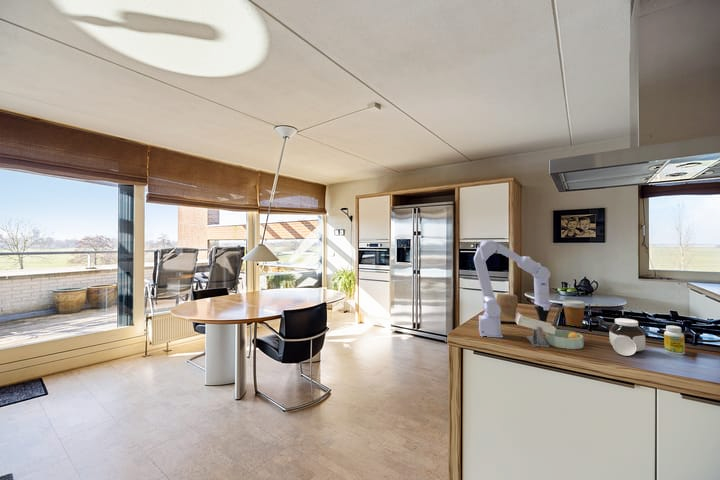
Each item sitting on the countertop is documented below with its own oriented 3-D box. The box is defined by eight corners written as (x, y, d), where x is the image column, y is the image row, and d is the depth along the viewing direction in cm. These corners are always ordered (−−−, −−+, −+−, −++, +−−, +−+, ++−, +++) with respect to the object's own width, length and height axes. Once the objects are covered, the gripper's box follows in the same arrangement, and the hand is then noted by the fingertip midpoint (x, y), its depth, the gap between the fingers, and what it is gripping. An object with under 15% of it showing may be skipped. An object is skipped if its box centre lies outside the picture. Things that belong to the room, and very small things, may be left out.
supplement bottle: (679, 350, 116) (678, 325, 116) (688, 355, 112) (687, 329, 112) (661, 349, 118) (660, 324, 118) (669, 354, 113) (668, 328, 113)
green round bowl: (551, 347, 124) (551, 337, 124) (543, 337, 136) (542, 328, 136) (588, 349, 120) (588, 339, 120) (576, 339, 132) (575, 330, 132)
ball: (583, 337, 124) (577, 345, 125) (579, 334, 128) (574, 342, 129) (573, 332, 125) (567, 340, 126) (570, 329, 129) (564, 337, 130)
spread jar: (636, 347, 121) (635, 318, 121) (656, 358, 110) (655, 326, 110) (601, 346, 124) (600, 317, 124) (617, 357, 113) (616, 325, 113)
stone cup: (518, 319, 168) (517, 291, 168) (522, 324, 157) (521, 295, 157) (488, 317, 173) (487, 291, 173) (490, 323, 162) (489, 294, 162)
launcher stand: (533, 346, 126) (532, 327, 126) (526, 337, 138) (525, 320, 138) (549, 347, 124) (548, 328, 124) (541, 338, 136) (540, 320, 136)
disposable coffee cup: (590, 328, 146) (589, 303, 146) (568, 328, 148) (567, 303, 148) (580, 323, 156) (579, 299, 156) (559, 323, 158) (558, 299, 158)
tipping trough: (517, 324, 130) (519, 315, 130) (511, 316, 144) (513, 307, 144) (554, 334, 126) (556, 325, 126) (544, 324, 140) (546, 316, 140)
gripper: (556, 295, 130) (558, 327, 130) (547, 290, 144) (548, 319, 144) (538, 295, 132) (539, 327, 132) (530, 289, 146) (531, 318, 146)
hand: (542, 322), depth 138 cm, fingers closed, pressing on tipping trough
